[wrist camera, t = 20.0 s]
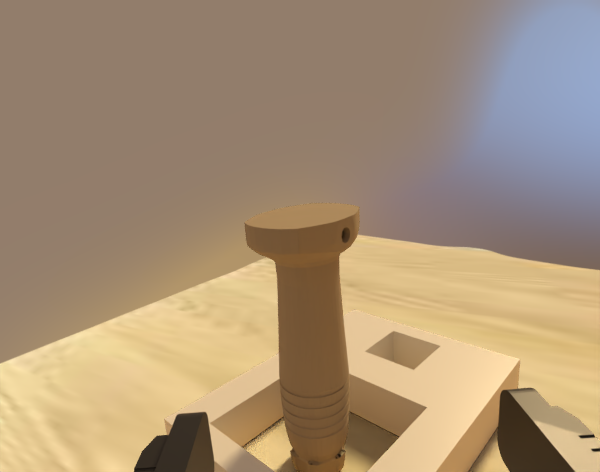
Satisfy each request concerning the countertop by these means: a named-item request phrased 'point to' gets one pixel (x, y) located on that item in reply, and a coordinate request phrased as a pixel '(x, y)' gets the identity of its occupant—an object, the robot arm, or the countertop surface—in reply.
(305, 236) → the handle
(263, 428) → the plate
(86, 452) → the countertop surface
